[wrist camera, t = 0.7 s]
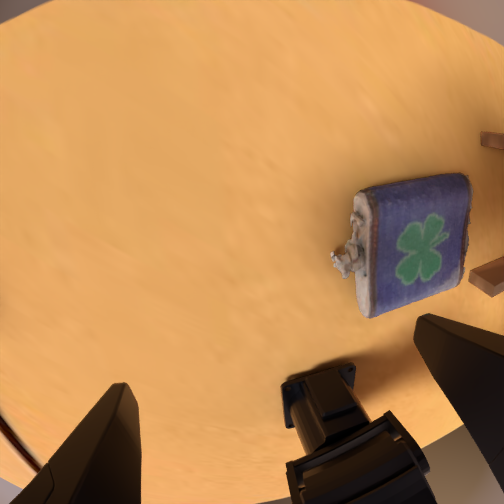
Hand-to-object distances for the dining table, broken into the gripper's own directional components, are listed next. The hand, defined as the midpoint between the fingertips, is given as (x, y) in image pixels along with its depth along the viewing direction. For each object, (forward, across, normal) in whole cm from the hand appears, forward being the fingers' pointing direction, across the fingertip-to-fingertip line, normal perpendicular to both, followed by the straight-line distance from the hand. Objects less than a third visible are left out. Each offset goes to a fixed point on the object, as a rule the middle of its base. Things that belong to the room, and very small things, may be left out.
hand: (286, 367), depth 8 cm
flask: (+12, -16, +1) cm, 20 cm away
